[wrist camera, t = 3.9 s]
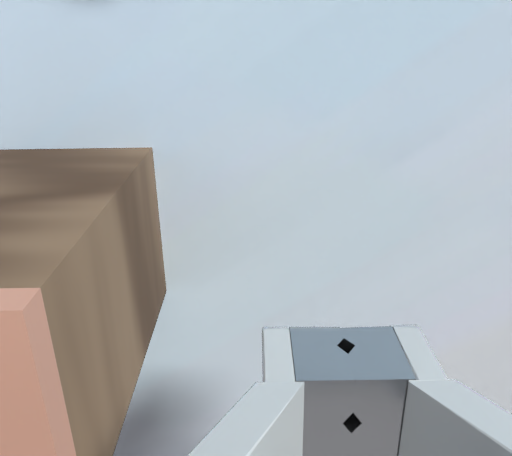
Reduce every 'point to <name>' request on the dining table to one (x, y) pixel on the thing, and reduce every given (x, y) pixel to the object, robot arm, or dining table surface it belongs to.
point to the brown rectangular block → (75, 295)
